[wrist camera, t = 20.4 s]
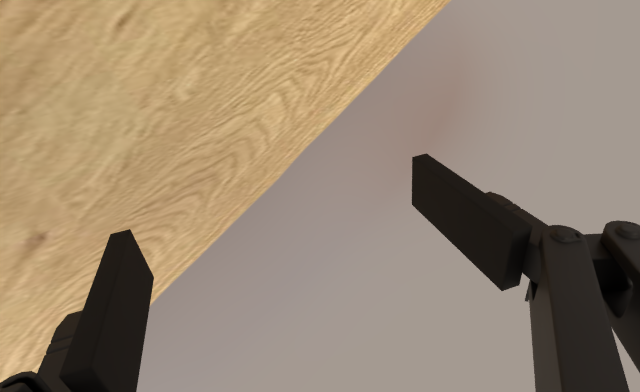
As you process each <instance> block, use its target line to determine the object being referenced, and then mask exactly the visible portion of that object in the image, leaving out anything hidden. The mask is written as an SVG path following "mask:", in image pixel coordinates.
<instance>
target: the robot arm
mask: <svg viewBox="0 0 640 392" xmlns="http://www.w3.org/2000/svg"><path fill="white" fill-rule="evenodd" d="M412 162H413V163H412V205H413V206H414V207H415V208H416V209H417V210H418V211H419V212H420V213H421V214H422V215H423V216H425V218H427V219H428V220H429V221H430V222H431V223H432V224H433V225H434V226H435V227H436V228H437V229H438V230H439V231H440V232H441V233H442V234H443V235H444V236H445V237H446V238H447V239H448V240H449V241H450V242H452V244H453V245H455V246H456V247H457V248H458V249H459V250H460V251H461V252H462V253H463V254H464V255H465V256H466V257H467V258H468V259H469V260H470V261H471V262H472V263H473V264H474V265H475V266H476V267H477V268H478V269H479V270H480V271H482V272H483V273H484V274H485V275H486V276H487V277H488V278H489V279H490V280H491V281H492V282H493V283H494V284H495V285H496V286H497V287H498V288H499V289H500V290H501V291H504V290H506V289H509V288H512V287H515V286H518V285H519V284H520V279H521V275H522V273H523V274H525V275H526V276H527V277H528V278H529V279H530V282H529V286H528V290H527V294H526V298H525V301H528V300H529V303H530V317H531V330H532V345H533V360H534V374H535V388H536V392H629V388H628V385H627V381H626V378H625V374H624V371H623V367H622V364H621V360H620V356H619V353H618V349H617V346H616V343H615V339H614V336H613V332H612V329H613V330H614V332H615V333H616V335H617V337H618V338H619V340H620V341H621V343H622V345H623V346H624V348H625V350H626V351H627V353H628V354H629V356H630V357H631V359H632V361H633V362H634V364H635V366H636V367H637V369H638V371H639V372H640V225H638V224H635V223H631V222H627V221H611V222H609V223H607V224H606V225H605V228H604V231H603V233H602V234H586V235H583V234H581V233H580V232H579V231H577V230H575V229H573V228H570V227H567V226H561V225H552V226H548V225H546V224H545V223H543V222H542V221H540V220H539V219H537V218H536V217H534V216H533V215H531V214H530V213H528V212H527V211H525V210H523V209H521V208H520V207H519V206H517V205H516V204H513V203H512V202H511V201H510V200H508V199H506V198H505V197H503V196H501V195H498V194H495V193H492V192H488V193H484V192H482V191H481V190H479V189H478V188H476V187H475V186H473V185H472V184H470V183H469V182H468V181H466V180H465V179H463V178H462V177H460V176H459V175H457V174H456V173H454V172H453V171H451V170H450V169H448V168H447V167H445V166H444V165H442V164H441V163H439V162H438V161H436V160H435V159H434V158H432V157H431V156H429V155H428V154H423V155H419V156H415V157H413V159H412ZM153 280H154V277H153V275H152V273H151V270H150V268H149V266H148V264H147V262H146V260H145V258H144V256H143V254H142V252H141V250H140V248H139V246H138V244H137V242H136V240H135V238H134V236H133V234H132V232H131V230H130V229H129V230H125V231H121V232H117V233H113V234H111V235H110V237H109V240H108V243H107V246H106V248H105V251H104V254H103V257H102V259H101V262H100V265H99V267H98V270H97V273H96V276H95V278H94V281H93V284H92V287H91V289H90V292H89V295H88V298H87V300H86V303H85V306H84V308H83V310H82V311H79V312H75V313H72V314H68V315H67V316H66V317H65V319H64V320H63V321H62V322H61V323H60V325H59V326H58V327H57V328H56V330H55V333H54V335H53V337H52V340H51V344H49V347H48V349H47V351H46V355H45V356H44V358H43V361H42V363H41V365H40V368H39V370H38V373H37V374H36V373H34V372H32V371H29V372H21V373H19V374H16V375H13V376H11V377H9V378H8V379H6V380H4V381H3V382H1V383H0V392H136V389H137V383H138V377H139V369H140V364H141V356H142V351H143V344H144V338H145V331H146V325H147V319H148V312H149V306H150V299H151V293H152V287H153ZM611 327H612V328H611Z"/></svg>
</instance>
